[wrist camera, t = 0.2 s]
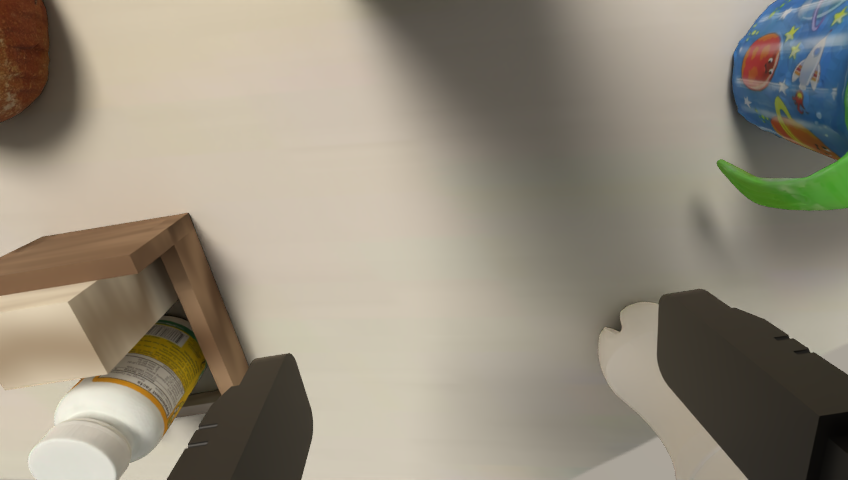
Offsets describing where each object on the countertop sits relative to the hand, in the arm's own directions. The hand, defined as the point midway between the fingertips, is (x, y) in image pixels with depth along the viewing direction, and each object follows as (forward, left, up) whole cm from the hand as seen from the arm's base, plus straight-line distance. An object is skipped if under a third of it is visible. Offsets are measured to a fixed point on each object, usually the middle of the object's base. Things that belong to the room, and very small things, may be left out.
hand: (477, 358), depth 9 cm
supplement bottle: (+9, -19, -18) cm, 27 cm away
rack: (+7, -19, -17) cm, 27 cm away
